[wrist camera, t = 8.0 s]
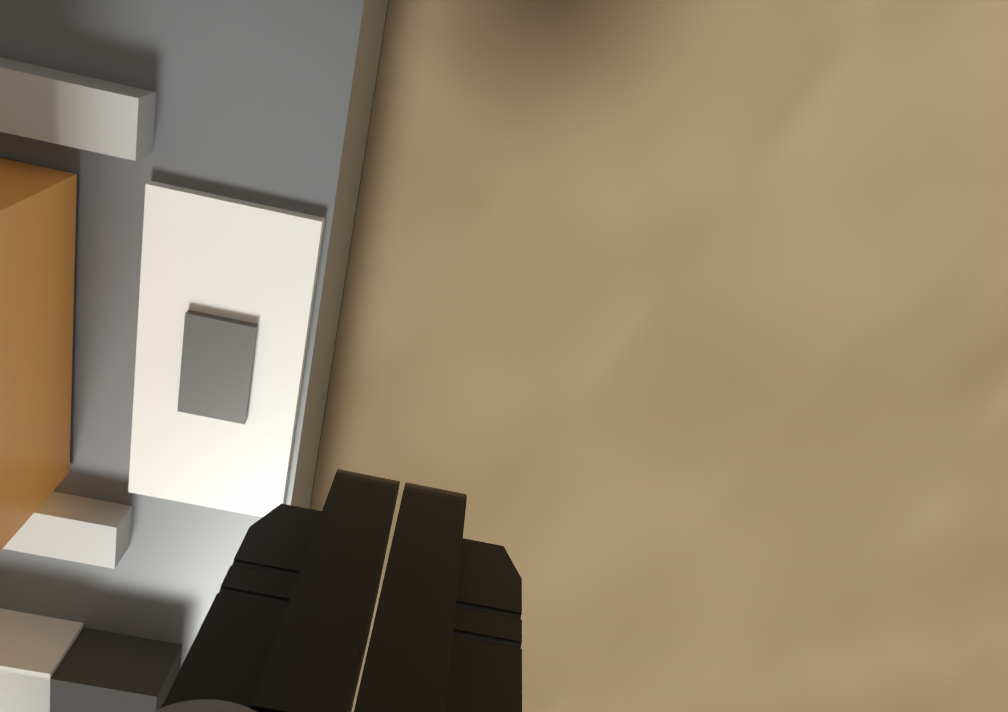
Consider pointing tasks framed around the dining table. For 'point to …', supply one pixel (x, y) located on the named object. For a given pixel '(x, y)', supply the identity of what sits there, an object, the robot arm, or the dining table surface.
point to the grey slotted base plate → (80, 667)
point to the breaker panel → (186, 281)
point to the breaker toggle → (34, 336)
